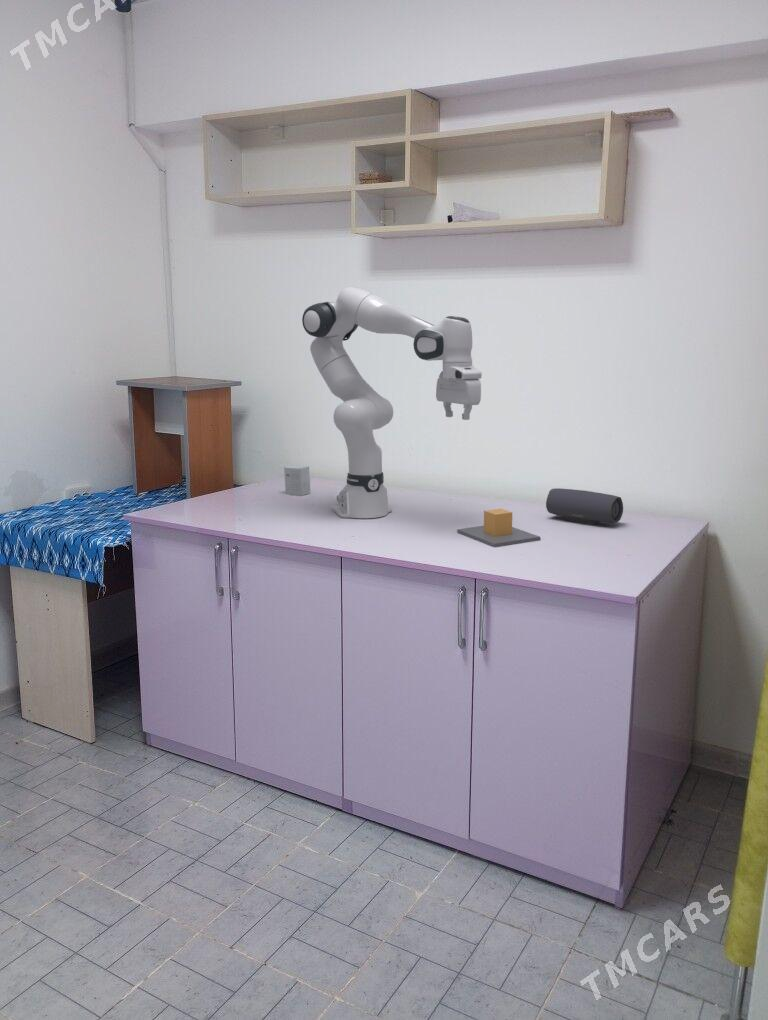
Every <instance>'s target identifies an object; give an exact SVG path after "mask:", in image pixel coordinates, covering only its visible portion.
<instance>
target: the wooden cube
mask: <svg viewBox="0 0 768 1020" xmlns="http://www.w3.org/2000/svg"><path fill="white" fill-rule="evenodd" d="M483 526H484V532H485V533H488V534H490V535H493V536H501V535H507V534H512V527H513V511H509V510H507V509H503V508H495V509H488V510H483Z"/></svg>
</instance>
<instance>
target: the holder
mask: <svg viewBox="0 0 768 1020" xmlns="http://www.w3.org/2000/svg"><path fill="white" fill-rule="evenodd" d="M456 531H457V533H458V534H460V535H461V536H466V537H468V538H470V539H473V540H476V541H478V542H480V543H483V544H486V545H487V546H490V547H493V548H498V547H504V546H510V545H517V544H523V543H529V542H530V543H531V542H536V541H541V536H540V535H538V534H534V533H531V532H528V531H525V530H522V529H519V528H516V527H514V526H512V534H507V535H501V536H493V535H490V534H488V533H485V532H484V525H479V526H473V527H472V526H471V527H465V528H458V529H456Z"/></svg>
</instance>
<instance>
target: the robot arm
mask: <svg viewBox="0 0 768 1020" xmlns="http://www.w3.org/2000/svg"><path fill="white" fill-rule="evenodd" d="M301 323H302V328H303V329H304V331H305V332H306V333H307V334H308V335H309V336H311V337H314V339H313V340H312V341H311V343H310V347H309V348H310V349H309V350H310V353H311V357H312V360H313V361H314V364H315V366H316V368H317V370H318V372H319V374H320V375H321V377H322V379H323V380H324V382H325V384H326V385H327V387H328V389H329V390H330V393H331V394H333V395H334V396H335V397H336V398H339V399H340V400H341V401H342V403H340V404H338V405H337V406H336V408H335V409H334V412H333V423H334V425H335V427H336V428H337V429H338V430H339V431H340V433H341V434H342V436H343V438H344V440H345V444H346V450H347V456H348V473H346V484H345V486H344V487H343V488H342V489H340V492H339V493H338V494H337V495H336V503H338V504H335V505H332V510H333V512H334V513H335V514H337V515H338V516H339V517H340V518H352V519H353V518H354V519H377V518H381V517H385V516H387V515H388V514H389V513H391V512H392V511H393V509H392V507H389V498H388V490H387V487H386V486H385V485H384V481H385V479H384V477H385V476H384V472H383V464H382V463H383V455H382V454H383V451H382V448H381V447H380V446H379V445H378V444H377V442H376V439H375V437H374V430H379V429H381V428H383V427H384V426H387V425H388V424H389V423H390V422H391V421H392V419H393V418H394V417H393V416H394V407H393V405H392V403H391V401H390V400H388V399H387V398H385V397H383V396H381V394H379V393H378V392H377V391H376V390H375V389H374V388H373V387H372V386H371V385H370V384H369V383H367V381H366V380H365V379H364V377H363V376H362V375H361V374H360V372H359V371H358V369H357V367H356V365H355V364H354V362H353V361H352V359H351V358H350V356H349V354H348V353H347V351H346V349H345V347H344V343H343V341H344V342H345V341H348V340H349V339H350V338H351V336H352V334H353V333H355V331H356V330H357V329H358V327H359V328H361V329H363V330H365V331H369V332H372V333H376V334H387V335H393V334H395V335H403V336H407V337H410V338H412V339H413V345H412V346H413V351H414V353H415V355H416V356H417V357H418V358H419V359H421V360H424V361H429V362H430V361H442V371H441V372H440V374H439V375H438V378H437V379H436V387H435V388H436V389H435V397H436V400H437V401H436V402H443V406H442V407H443V408H444V411H445V417H447V418H453V416H454V411H453V410H452V404H456V405H463V410H464V411H463V413H461V420H464V421H469V420H470V416H471V415H470V414H471V412H472V409H473V406H478V405H479V404H480V402H481V400H482V383H481V380H480V379H482V371H481V370H479V369H478V368H477V367H475V366H474V365H473V359H472V350H473V330H472V324H471V321H469V319H468V318H465V317H461V316H456V315H455V316H454V315H453V316H452V315H448V316H445V317H444V318H443V319H442V320H441V321H439V322H438V323H437V324H433V323H430V322H427V321H426V320H423V319H421V318H420V317H417V316H415V315H413V314H410V313H408V312H407V311H405V310H403V309H401V308H400V307H397V306H395V305H394V304H393V303H391V302H389V301H388V300H386V299H384V298H382V297H380V296H379V295H377V294H375V293H373V292H371V291H369V290H366V289H363V288H359V287H356V286H346V287H345V288H343V289H342V290H341V291H340V292H339V293H338V295H337V299H336V300H335V301H325V302H318V303H315V304H312V305H310V306H308V307H307V308H306V309H304V312H303V314H302V317H301Z"/></svg>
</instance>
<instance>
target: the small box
mask: <svg viewBox="0 0 768 1020" xmlns="http://www.w3.org/2000/svg"><path fill="white" fill-rule="evenodd" d="M283 470H284V471H283V472H284V488H285V489H284V490H285V491H284V492H285V494H286V495H291V496H292V495H293V496H305V495H309V494H311V476H310V466H307V465H306V466H305V465H297V464H296V465H295V464H292V465H287V466H285V467H284V468H283Z"/></svg>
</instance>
